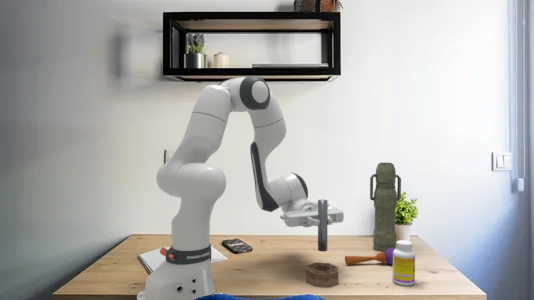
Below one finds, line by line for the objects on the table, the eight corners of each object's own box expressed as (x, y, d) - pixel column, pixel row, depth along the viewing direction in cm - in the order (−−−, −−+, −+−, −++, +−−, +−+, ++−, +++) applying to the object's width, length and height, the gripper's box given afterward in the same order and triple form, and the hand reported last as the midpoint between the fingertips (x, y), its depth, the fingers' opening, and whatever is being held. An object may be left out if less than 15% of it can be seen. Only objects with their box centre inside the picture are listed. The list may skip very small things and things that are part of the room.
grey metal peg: (322, 252, 121) (322, 201, 120) (315, 249, 123) (316, 200, 123) (329, 250, 123) (329, 200, 122) (322, 247, 125) (322, 199, 124)
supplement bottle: (416, 287, 118) (417, 246, 117) (393, 285, 119) (394, 244, 119) (412, 279, 125) (413, 239, 124) (391, 277, 126) (391, 238, 125)
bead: (321, 289, 116) (321, 276, 116) (300, 279, 125) (300, 266, 124) (344, 281, 122) (344, 269, 122) (322, 272, 130) (322, 260, 130)
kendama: (343, 251, 141) (396, 246, 142) (345, 267, 141) (399, 262, 141) (346, 253, 135) (402, 248, 136) (348, 270, 135) (405, 265, 135)
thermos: (403, 252, 151) (404, 163, 150) (373, 252, 151) (374, 164, 149) (395, 245, 160) (396, 162, 158) (367, 246, 160) (368, 162, 158)
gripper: (278, 206, 131) (293, 215, 118) (331, 202, 138) (352, 210, 125) (278, 225, 132) (293, 235, 119) (331, 220, 138) (351, 229, 125)
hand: (324, 222), depth 122 cm, fingers closed on grey metal peg, 3 cm apart
